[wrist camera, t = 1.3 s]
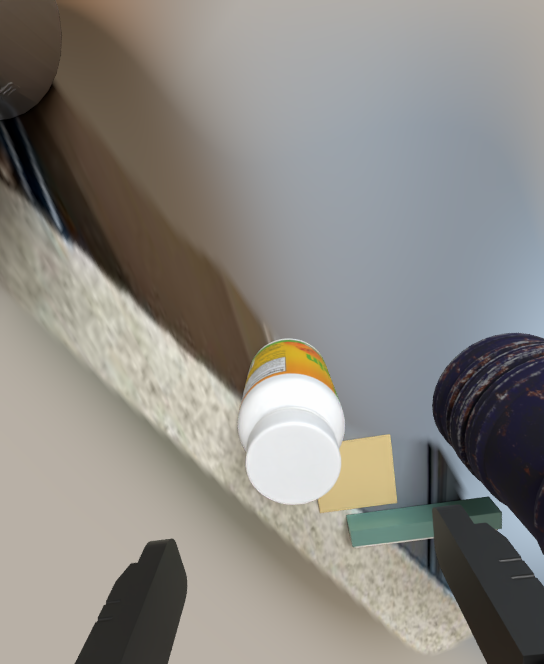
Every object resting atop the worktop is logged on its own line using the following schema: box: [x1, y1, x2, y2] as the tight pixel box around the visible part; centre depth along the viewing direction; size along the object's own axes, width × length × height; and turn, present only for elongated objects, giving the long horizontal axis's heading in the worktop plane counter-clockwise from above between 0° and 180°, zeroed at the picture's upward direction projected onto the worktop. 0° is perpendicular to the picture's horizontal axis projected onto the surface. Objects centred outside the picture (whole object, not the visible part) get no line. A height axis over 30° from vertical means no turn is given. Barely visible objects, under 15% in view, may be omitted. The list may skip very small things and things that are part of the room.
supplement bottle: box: [238, 339, 345, 505], centre depth 18 cm, size 5×5×10 cm
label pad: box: [318, 434, 397, 513], centre depth 24 cm, size 6×6×1 cm
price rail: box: [346, 497, 502, 548], centre depth 25 cm, size 2×11×2 cm, turn 101°
